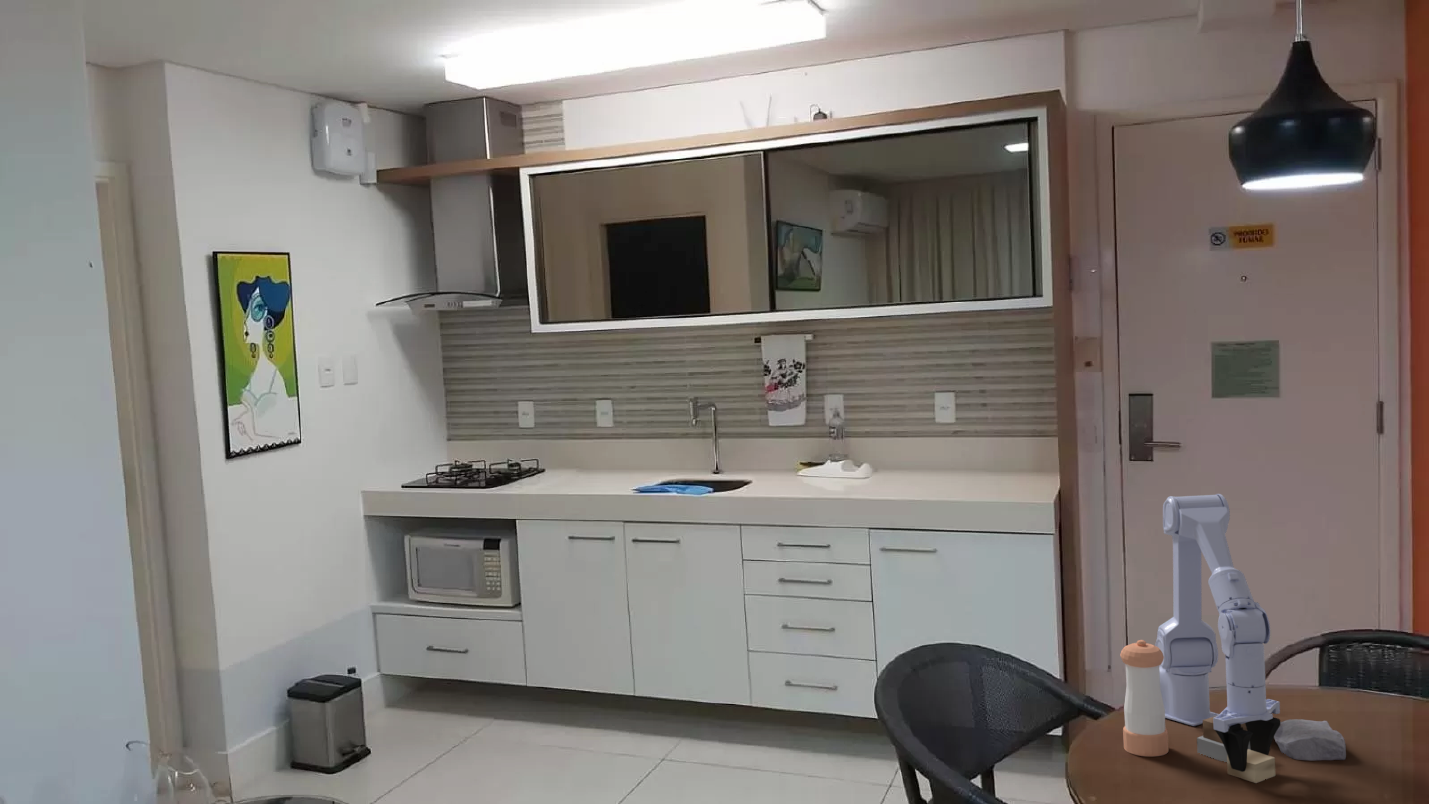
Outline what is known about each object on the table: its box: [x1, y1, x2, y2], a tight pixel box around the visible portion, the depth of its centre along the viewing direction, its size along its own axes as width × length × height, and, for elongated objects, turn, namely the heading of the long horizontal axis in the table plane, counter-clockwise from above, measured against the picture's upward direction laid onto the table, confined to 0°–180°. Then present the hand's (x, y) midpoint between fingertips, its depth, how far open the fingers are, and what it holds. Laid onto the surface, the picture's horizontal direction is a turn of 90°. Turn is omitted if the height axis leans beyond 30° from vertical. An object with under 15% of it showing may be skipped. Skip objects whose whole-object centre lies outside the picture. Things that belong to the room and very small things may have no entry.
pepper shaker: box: [1119, 639, 1170, 758], centre depth 193 cm, size 7×7×19 cm
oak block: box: [1226, 749, 1276, 784], centre depth 180 cm, size 5×5×3 cm
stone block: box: [1273, 718, 1347, 762], centre depth 190 cm, size 12×5×10 cm
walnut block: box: [1202, 716, 1247, 744], centre depth 189 cm, size 5×5×3 cm
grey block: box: [1196, 735, 1251, 763], centre depth 189 cm, size 6×6×3 cm
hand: (1249, 765), depth 180 cm, fingers closed on oak block, 5 cm apart
